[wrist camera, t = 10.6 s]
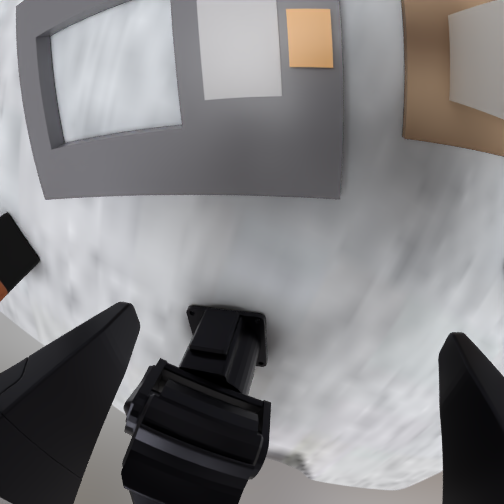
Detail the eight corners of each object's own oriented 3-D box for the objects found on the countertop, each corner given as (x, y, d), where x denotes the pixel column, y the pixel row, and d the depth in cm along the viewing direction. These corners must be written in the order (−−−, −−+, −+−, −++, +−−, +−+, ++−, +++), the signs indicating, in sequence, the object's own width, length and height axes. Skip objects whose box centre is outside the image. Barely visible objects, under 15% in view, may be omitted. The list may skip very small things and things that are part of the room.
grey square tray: (339, 189, 17) (340, 205, 16) (56, 192, 22) (38, 204, 20) (326, -81, 8) (326, -99, 6) (29, 5, 13) (8, 6, 11)
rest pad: (523, 159, 13) (528, 162, 12) (402, 136, 15) (404, 138, 14) (527, 14, 8) (532, 13, 7) (397, -29, 9) (400, -32, 9)
